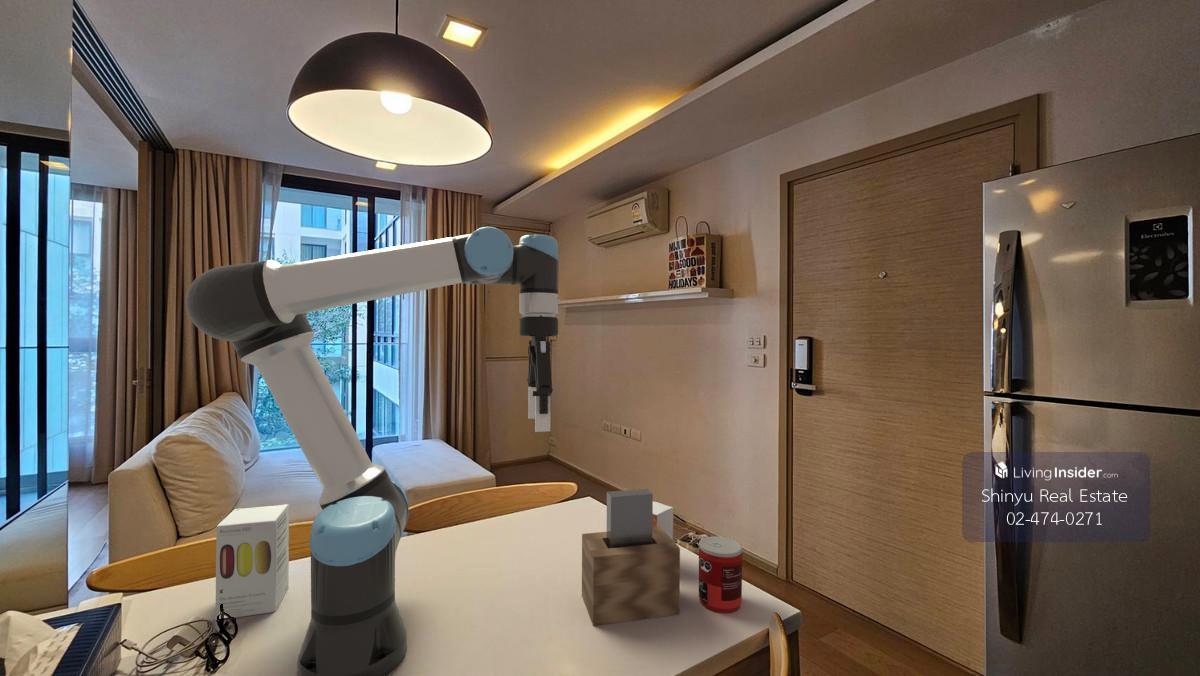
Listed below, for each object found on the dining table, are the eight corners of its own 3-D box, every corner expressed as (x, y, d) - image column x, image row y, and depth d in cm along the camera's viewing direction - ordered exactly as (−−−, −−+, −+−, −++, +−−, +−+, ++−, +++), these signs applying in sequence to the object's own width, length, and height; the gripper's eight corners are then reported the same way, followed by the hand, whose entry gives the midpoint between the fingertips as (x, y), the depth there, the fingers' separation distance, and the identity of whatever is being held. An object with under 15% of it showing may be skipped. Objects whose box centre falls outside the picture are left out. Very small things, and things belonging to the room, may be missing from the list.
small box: (626, 563, 108) (626, 504, 108) (644, 554, 113) (644, 497, 113) (656, 576, 103) (656, 514, 103) (673, 566, 107) (674, 506, 107)
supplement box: (213, 622, 86) (212, 526, 86) (232, 595, 95) (232, 508, 94) (277, 612, 89) (276, 519, 89) (290, 586, 98) (290, 502, 98)
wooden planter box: (593, 625, 85) (593, 557, 85) (581, 595, 95) (582, 533, 95) (679, 614, 89) (679, 548, 89) (660, 586, 99) (660, 526, 99)
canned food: (701, 588, 98) (702, 533, 98) (743, 596, 95) (744, 539, 95) (694, 608, 91) (695, 549, 91) (739, 617, 88) (740, 556, 88)
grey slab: (610, 573, 90) (610, 497, 89) (606, 565, 93) (606, 491, 92) (652, 568, 92) (652, 493, 91) (646, 561, 94) (647, 488, 94)
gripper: (568, 314, 85) (568, 436, 85) (549, 317, 109) (549, 413, 110) (525, 313, 83) (524, 438, 84) (515, 317, 108) (515, 414, 108)
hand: (538, 424), depth 97 cm, fingers open, 13 cm apart
